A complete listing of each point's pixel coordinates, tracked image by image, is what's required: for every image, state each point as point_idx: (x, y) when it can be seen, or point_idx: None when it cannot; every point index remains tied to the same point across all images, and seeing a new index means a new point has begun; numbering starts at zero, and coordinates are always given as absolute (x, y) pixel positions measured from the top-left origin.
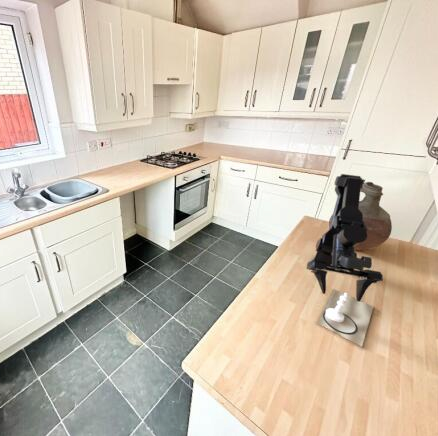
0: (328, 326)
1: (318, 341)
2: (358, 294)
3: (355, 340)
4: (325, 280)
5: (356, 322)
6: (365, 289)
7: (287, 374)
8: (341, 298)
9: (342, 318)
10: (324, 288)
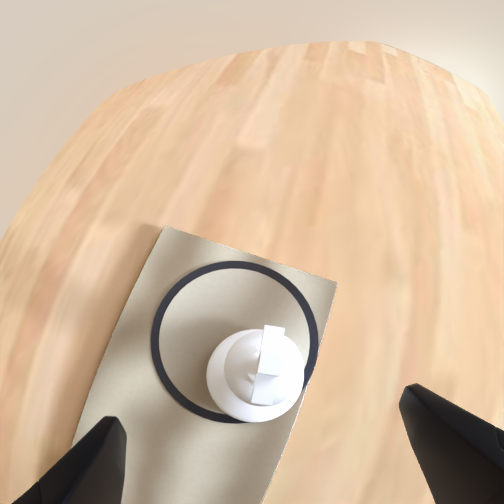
0: (295, 277)
1: (330, 190)
2: (104, 475)
3: (184, 243)
4: (496, 456)
5: (145, 372)
6: (28, 498)
7: (379, 90)
8: (293, 343)
9: (222, 349)
10: (442, 407)
